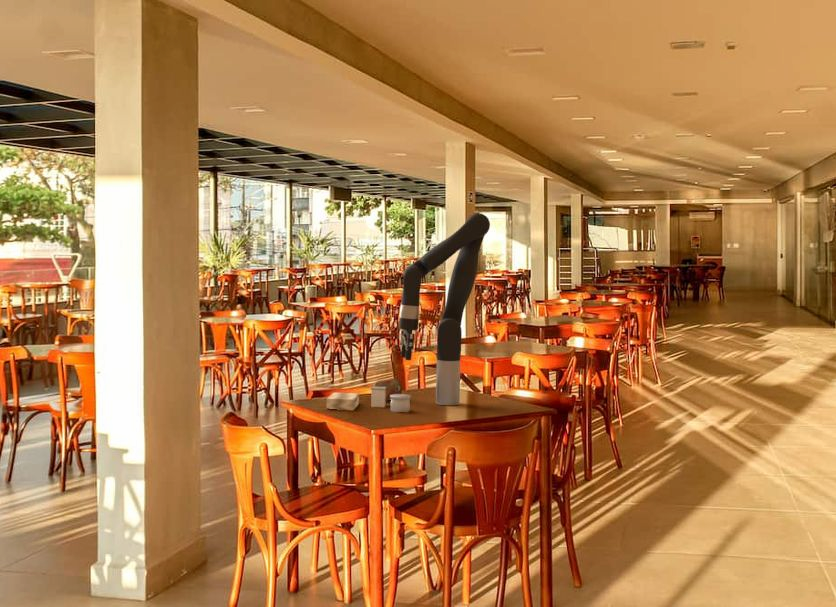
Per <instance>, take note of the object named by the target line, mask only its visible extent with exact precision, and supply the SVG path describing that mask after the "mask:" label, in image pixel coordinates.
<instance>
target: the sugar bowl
mask: <svg viewBox="0 0 836 607" xmlns="http://www.w3.org/2000/svg"><path fill="white" fill-rule="evenodd" d="M390 398H391V401H390V410H391V411H393V412H392V413H397V412H405V413H409V412H410V404H411V400H410V399H411V395H410V394H403V393H401V394H392V395H390ZM391 411H390V412H391Z"/></svg>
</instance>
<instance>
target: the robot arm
mask: <svg viewBox="0 0 836 607" xmlns="http://www.w3.org/2000/svg"><path fill="white" fill-rule="evenodd" d="M490 227H491V222H490V220H489V218H488V216H486V215H485V214H483V213H480V212H479V213H473V214H471V215H469V216H468V217H467V218H466V220H465V222H464V223H463V225H461V227H459V228H458V229H457V230H456V231H455V232H453V234H452V235H450V236H448V237H447V238H445V239H444V240H442V241H441V242H439V243H438V244H435V246H434V247H432V248H431V249H430V250H429V251H427V252H426V253H424V254H423V255H422V256H421V257H420V258H419V259H418V260H416V261H414V262H413V263H411V264H410V265H408V266H407V267H406V268H405V269H404V270H403V282H402V285H403V286H402V294H401V300H400V301H401V302H400V310H399V316H398V318H399V319H398V329H400V330H401V331H400V332H401V333H400V343H399V345H400V347H401V349H400V352H401V353H400V357H401V358H402V359H405V361H411V360H412V355H413V354H412V353H413V352H412V351H413V350H414V349H415V337H416V336H415V333H413V331H417V330H419V319H420V301H421V293H420V292H421V286H422V279H423V278H424V277H426V276H427V275H428V274H429V273H431V272H432V271H434V270H436V269H437V268H438V267H439V266H441V265H442V264H443V263H444V262H446V261H447V260H449V259H450V258H451V257H452V256H453V255H454V254H456V253H457V252H458V251H459V252H458V255H457V257H456V259H455V263H454V266H453V269H452V272H451V276H450V280H449V284H448V288H447V289H448V290H447V296H446V303H445V307H444V310H443V313H442V316H441V319H440V321H439V323H438V325H437V328H436V334H437V338H436V339H437V340H436V341H437V343H436V369H435V370H436V373H435V374H436V375H435V377H436V378H435V379H436V380H435V404H436V405H439V406H460V402H461V401H460V397H461V396H460V395H461V394H460V393H461V357H462V356H461V355H462V353H461V352H462V336H463V335H462V331H463V330H462V319H463V315H464V312H465V311H464V309H465V308H466V305H467V302H469V298H470V296H471V294H472V291H473V288H474V284H475V281H476V277H477V272H478V267H479V266H478V265H479V254H480V250H481V247H482V243H483V240H484V238H485V236H486V235H487V234H488V232H489V231H490Z"/></svg>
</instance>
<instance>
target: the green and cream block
mask: <svg viewBox="0 0 836 607" xmlns="http://www.w3.org/2000/svg"><path fill="white" fill-rule="evenodd" d="M386 388H387V387H376V386H375V385H374V386H373V385H372V386H371V388H370V390H371V391H370V392H371V396H370V400H371V401H370V405H371V406H370V407H371V408H386V403H387V401H386Z"/></svg>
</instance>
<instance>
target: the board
mask: <svg viewBox="0 0 836 607" xmlns="http://www.w3.org/2000/svg"><path fill="white" fill-rule="evenodd" d="M359 404H360V393H359V392H354V393H353V392H332V393H331V394H330V395H329V396H328V397H327V398H326V409H327V408H329V409H337V410H336V411H354V410H355V409H356V408H357V407H358V405H359Z"/></svg>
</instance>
